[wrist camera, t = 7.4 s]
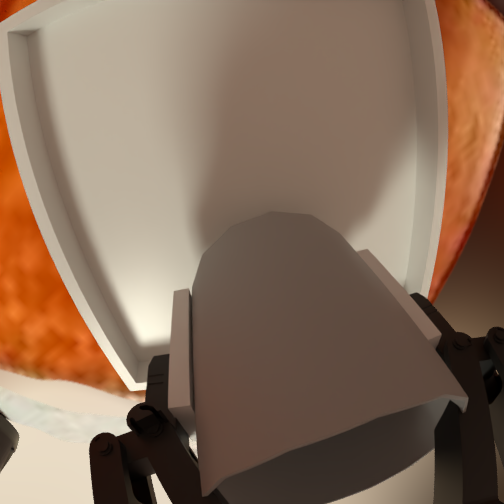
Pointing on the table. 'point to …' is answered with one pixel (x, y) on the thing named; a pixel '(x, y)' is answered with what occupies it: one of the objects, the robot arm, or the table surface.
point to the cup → (306, 368)
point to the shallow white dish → (219, 140)
